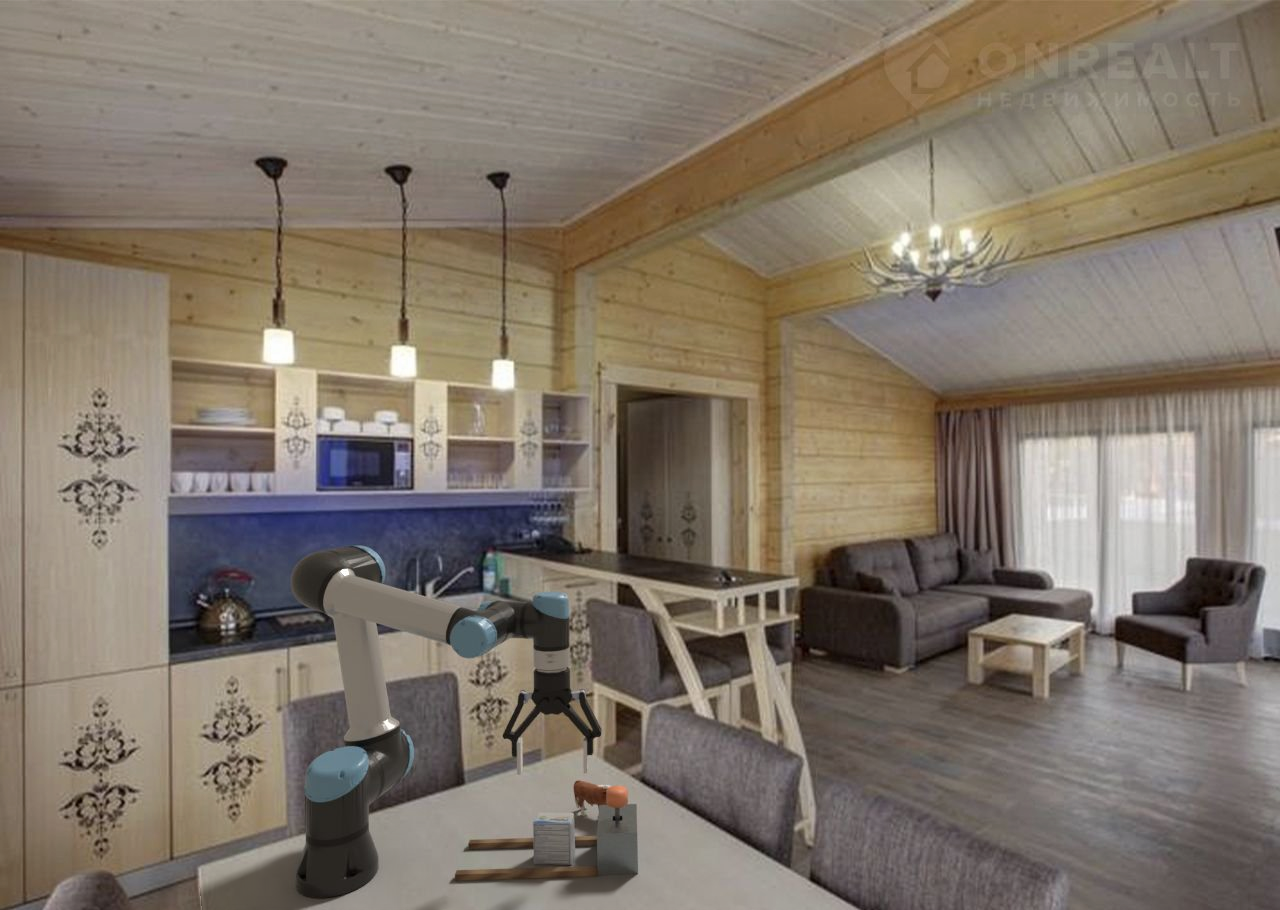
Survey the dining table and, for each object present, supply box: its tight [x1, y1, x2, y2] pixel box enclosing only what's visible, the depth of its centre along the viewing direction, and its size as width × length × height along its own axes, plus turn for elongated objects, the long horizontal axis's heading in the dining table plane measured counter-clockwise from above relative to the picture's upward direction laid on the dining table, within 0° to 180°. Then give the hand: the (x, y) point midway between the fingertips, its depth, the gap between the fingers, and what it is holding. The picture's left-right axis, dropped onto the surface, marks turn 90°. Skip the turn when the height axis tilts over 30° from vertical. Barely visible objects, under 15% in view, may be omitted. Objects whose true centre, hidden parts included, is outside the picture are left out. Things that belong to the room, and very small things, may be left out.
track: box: [454, 835, 599, 882], centre depth 144 cm, size 28×13×1 cm, turn 91°
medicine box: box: [532, 812, 576, 866], centre depth 144 cm, size 8×4×9 cm, turn 85°
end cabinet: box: [596, 803, 639, 876], centre depth 144 cm, size 8×12×8 cm, turn 1°
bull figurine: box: [573, 779, 612, 818], centre depth 162 cm, size 4×13×8 cm, turn 53°
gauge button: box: [606, 785, 629, 821], centre depth 145 cm, size 4×4×6 cm
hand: (552, 771), depth 145 cm, fingers open, 13 cm apart
